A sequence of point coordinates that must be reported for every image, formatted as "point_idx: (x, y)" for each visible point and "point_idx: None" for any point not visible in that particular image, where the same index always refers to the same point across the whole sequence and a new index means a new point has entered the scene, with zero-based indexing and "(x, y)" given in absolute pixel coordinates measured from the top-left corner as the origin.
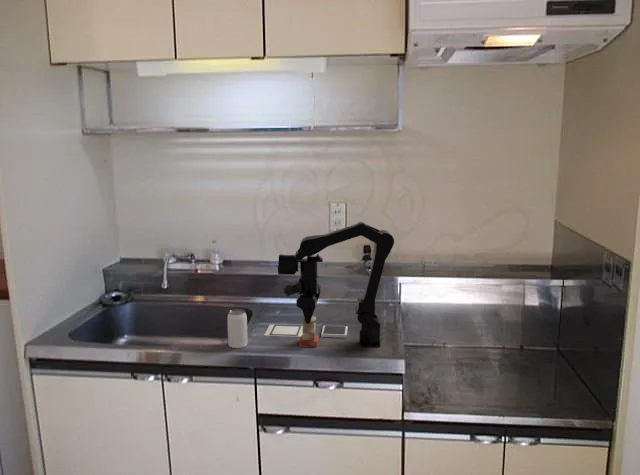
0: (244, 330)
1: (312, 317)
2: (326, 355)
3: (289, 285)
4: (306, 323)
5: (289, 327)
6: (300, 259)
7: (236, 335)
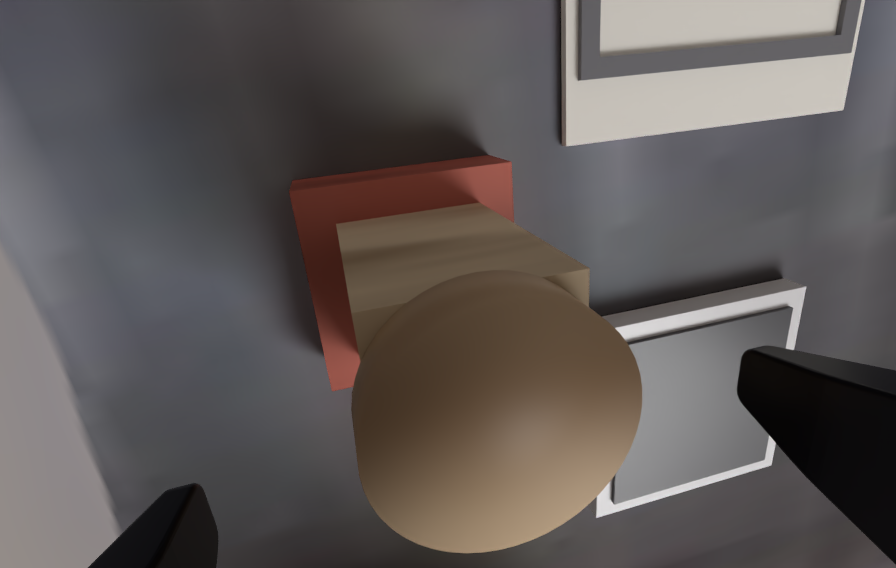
0: None
1: (556, 478)
2: (154, 497)
3: None
4: (168, 495)
5: None
6: None
7: None
